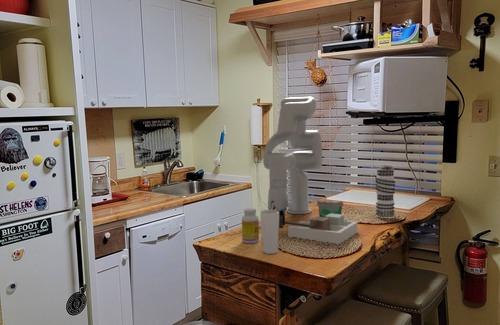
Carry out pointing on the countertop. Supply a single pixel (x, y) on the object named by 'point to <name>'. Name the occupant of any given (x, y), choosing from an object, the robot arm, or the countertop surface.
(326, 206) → the food container
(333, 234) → the white tray
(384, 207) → the decorative candle
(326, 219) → the brown block with stick
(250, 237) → the supplement bottle
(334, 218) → the sage block
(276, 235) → the drinking glass
